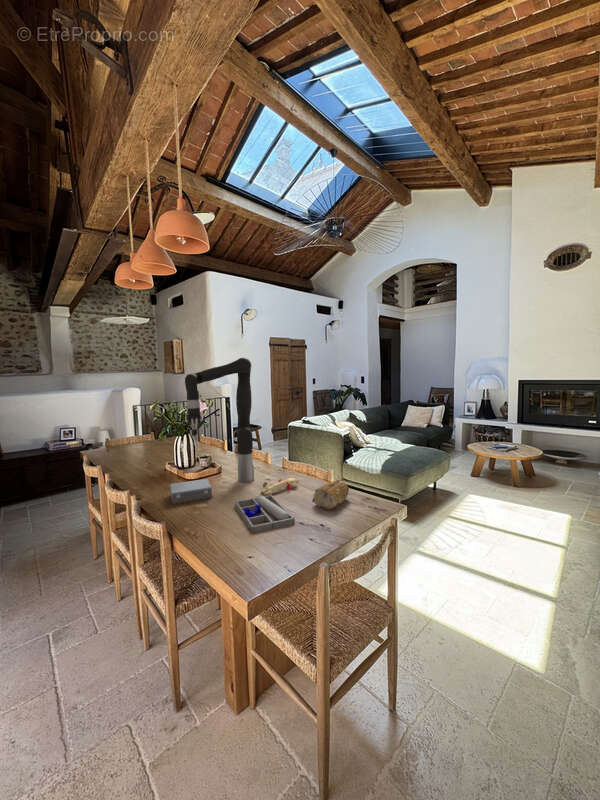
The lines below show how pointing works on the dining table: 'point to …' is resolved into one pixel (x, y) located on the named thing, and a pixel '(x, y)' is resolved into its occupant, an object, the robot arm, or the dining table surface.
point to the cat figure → (279, 486)
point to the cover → (190, 486)
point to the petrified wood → (331, 494)
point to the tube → (272, 508)
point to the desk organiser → (262, 515)
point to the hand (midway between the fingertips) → (194, 435)
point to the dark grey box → (191, 496)
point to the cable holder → (254, 512)
